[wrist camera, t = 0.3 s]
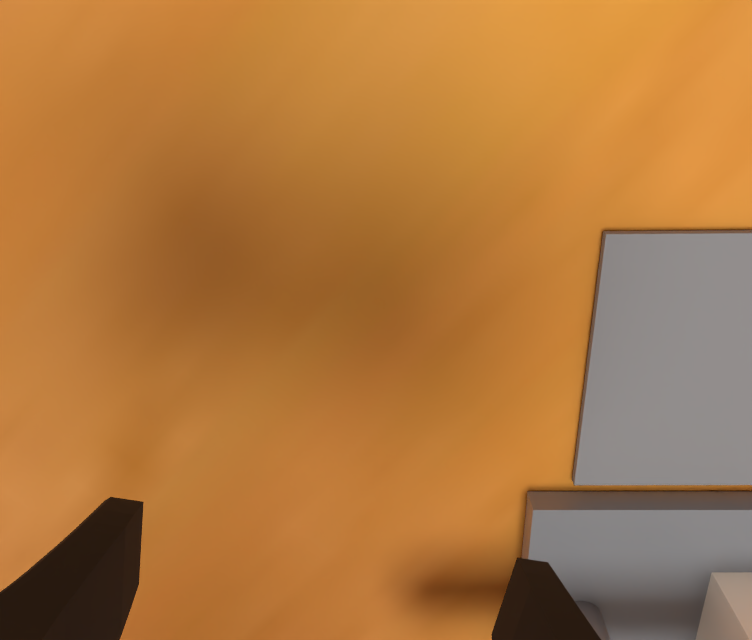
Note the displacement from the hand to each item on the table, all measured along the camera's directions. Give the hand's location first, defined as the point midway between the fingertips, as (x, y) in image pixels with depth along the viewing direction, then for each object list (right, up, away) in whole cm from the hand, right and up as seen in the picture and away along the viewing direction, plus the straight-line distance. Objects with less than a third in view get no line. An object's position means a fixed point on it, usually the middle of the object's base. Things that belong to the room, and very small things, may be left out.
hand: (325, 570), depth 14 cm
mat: (+12, +3, +9) cm, 16 cm away
